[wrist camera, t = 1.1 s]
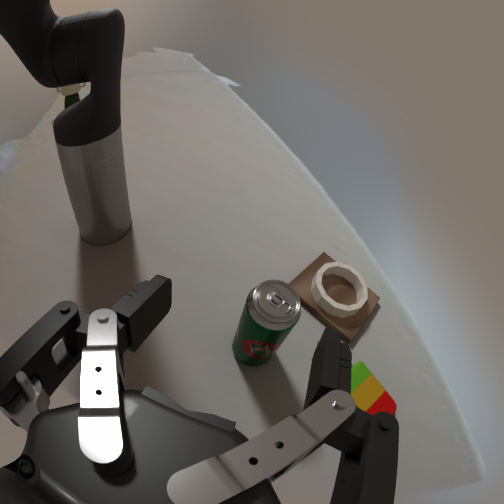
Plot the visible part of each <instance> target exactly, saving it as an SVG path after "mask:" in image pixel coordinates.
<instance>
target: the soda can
mask: <svg viewBox="0 0 504 504" xmlns="http://www.w3.org/2000/svg"><path fill="white" fill-rule="evenodd" d="M300 305H301V303H300V298H299V295H298V293H297V292H296V290H295V289H294V288H293V287H292V286H290V285H289V284H287V283H285V282H283V281H280V280H267V281H264V282H262V283H260V284H259V285H258V286H256V287H255V288H253V289H252V290H251V292H250V293H249V295H248V297H247V300H246V303H245V306H244V309H243V312H242V315H241V318H240V321H239V324H238V328H237V331H236V334H235V337H234V340H233V344H232V348H233V352H234V355H235V356H236V358H237V359H238V360H239V361H240V362H242V363H243V364H245V365H248V366H261V365H263V364H265V363H267V362H268V361H269V360H270V359H271V357H272V356H273V355H274V353H275V352H276V351H277V349H278V348H279V347H280V345H281V344H282V342H283V341H284V340H285V338H286V337H287V336H288V334H289V333H290V331H291V330H292V329H293V327H294V326H295V324H296V323H297V322H298V320H299V318H300V314H301V306H300Z"/></svg>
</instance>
